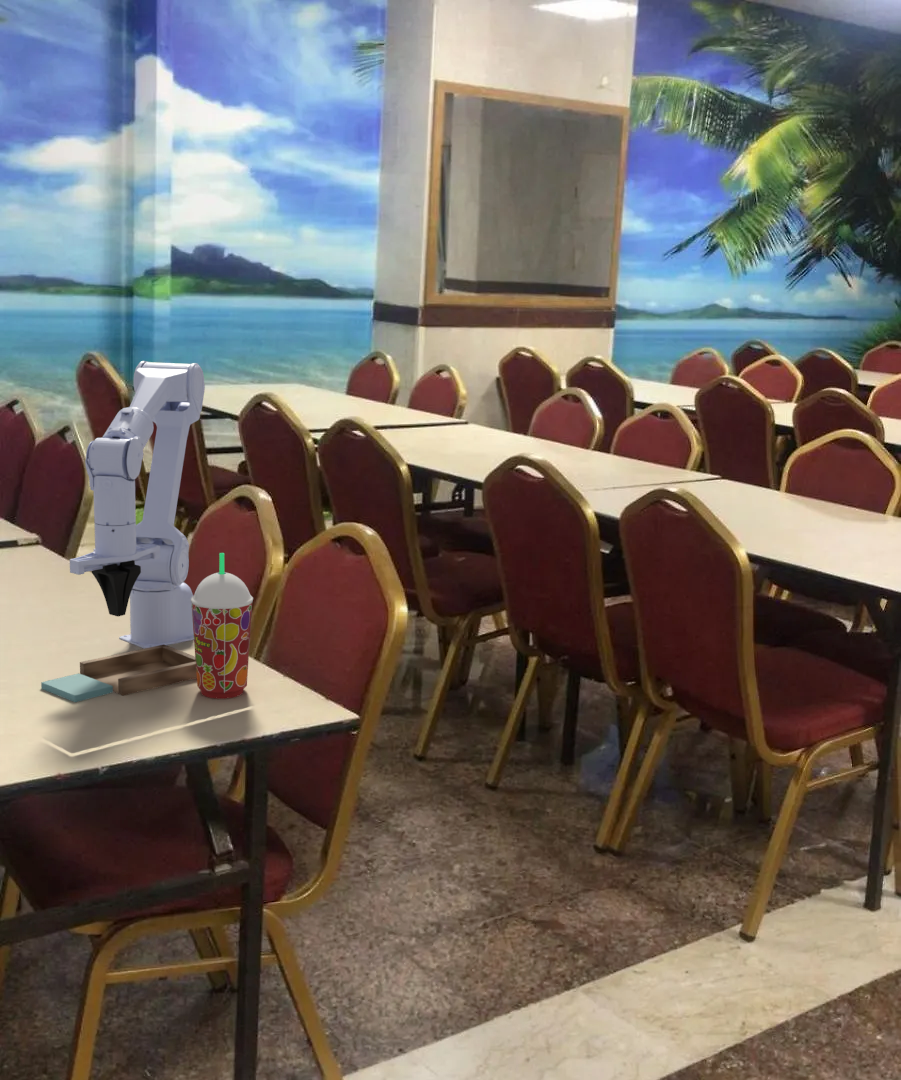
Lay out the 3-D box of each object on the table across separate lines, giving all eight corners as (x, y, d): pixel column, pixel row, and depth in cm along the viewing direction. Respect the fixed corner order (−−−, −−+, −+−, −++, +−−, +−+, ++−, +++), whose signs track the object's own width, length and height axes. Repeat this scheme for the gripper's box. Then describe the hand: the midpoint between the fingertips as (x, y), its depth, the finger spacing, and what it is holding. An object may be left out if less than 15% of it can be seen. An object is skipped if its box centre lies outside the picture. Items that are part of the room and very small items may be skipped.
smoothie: (185, 688, 186) (184, 548, 182) (244, 682, 189) (244, 545, 185) (199, 706, 178) (198, 561, 174) (259, 700, 182) (260, 558, 178)
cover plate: (79, 685, 187) (78, 673, 187) (112, 698, 182) (112, 686, 182) (41, 694, 183) (41, 682, 182) (75, 708, 178) (75, 695, 177)
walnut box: (164, 660, 198) (164, 644, 198) (207, 677, 191) (207, 661, 190) (80, 679, 188) (79, 662, 188) (122, 698, 181) (122, 680, 180)
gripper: (137, 511, 197) (138, 600, 200) (54, 525, 185) (57, 619, 188) (169, 518, 193) (170, 608, 195) (86, 532, 181) (89, 628, 184)
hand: (117, 614), depth 192 cm, fingers closed
